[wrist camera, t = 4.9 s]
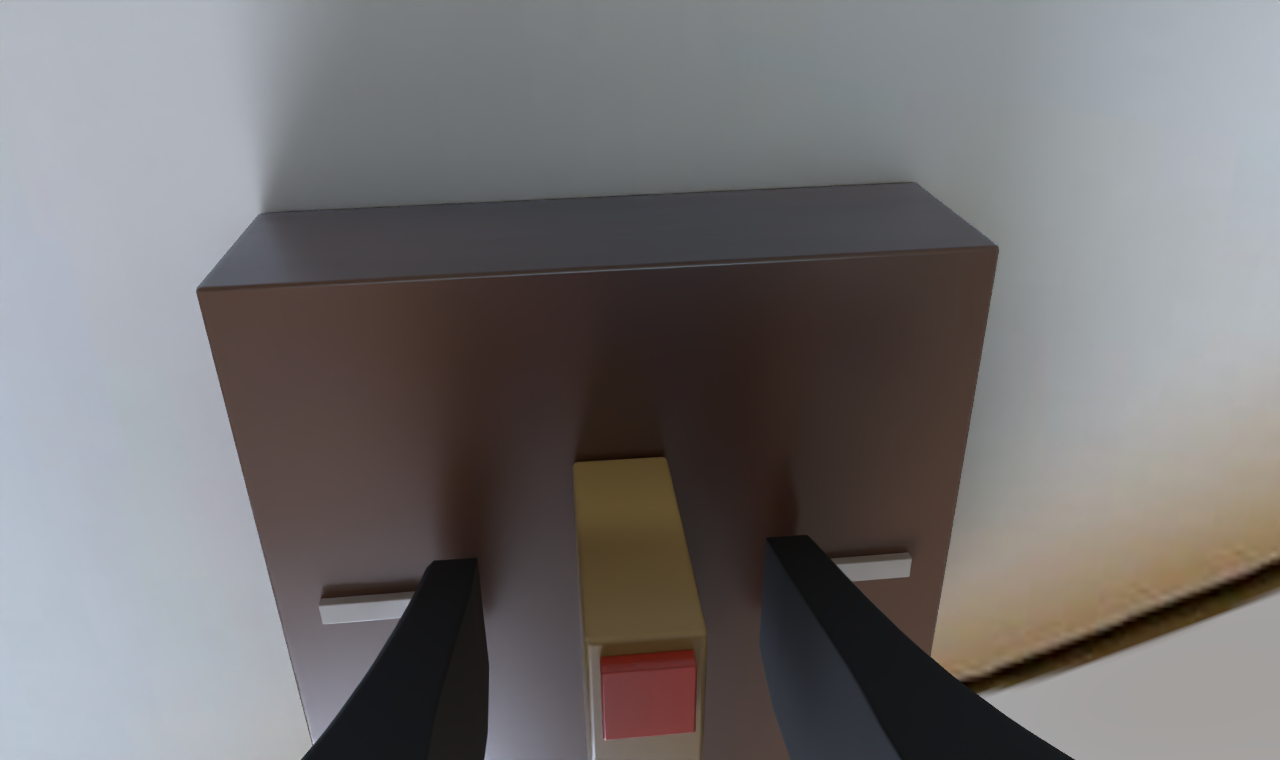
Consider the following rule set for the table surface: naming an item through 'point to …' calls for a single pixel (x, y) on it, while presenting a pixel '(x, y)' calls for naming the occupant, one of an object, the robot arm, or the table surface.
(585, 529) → the thumbturn
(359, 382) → the plate
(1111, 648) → the table surface
